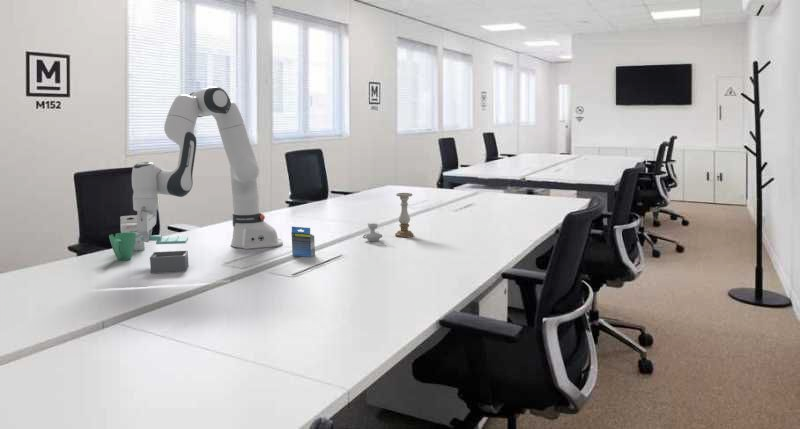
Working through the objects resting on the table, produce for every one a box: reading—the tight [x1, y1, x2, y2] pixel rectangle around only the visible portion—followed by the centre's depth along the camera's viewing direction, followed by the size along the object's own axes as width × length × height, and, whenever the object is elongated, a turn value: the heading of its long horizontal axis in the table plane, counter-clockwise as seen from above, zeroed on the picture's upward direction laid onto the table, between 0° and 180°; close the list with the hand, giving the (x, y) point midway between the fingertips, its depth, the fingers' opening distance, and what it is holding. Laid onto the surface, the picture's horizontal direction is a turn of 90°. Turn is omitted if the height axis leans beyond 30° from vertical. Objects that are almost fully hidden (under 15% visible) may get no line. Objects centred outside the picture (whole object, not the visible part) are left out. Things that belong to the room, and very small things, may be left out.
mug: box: [108, 232, 136, 262], centre depth 247 cm, size 15×10×10 cm
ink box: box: [119, 214, 146, 252], centre depth 266 cm, size 8×5×15 cm, turn 123°
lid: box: [141, 234, 189, 245], centre depth 240 cm, size 16×8×3 cm, turn 102°
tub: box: [149, 250, 189, 274], centre depth 230 cm, size 12×9×7 cm
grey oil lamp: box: [362, 222, 383, 243], centre depth 285 cm, size 9×7×8 cm
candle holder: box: [394, 192, 414, 238], centre depth 297 cm, size 9×9×20 cm
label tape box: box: [291, 226, 316, 258], centre depth 256 cm, size 9×4×12 cm, turn 71°
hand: (147, 240), depth 239 cm, fingers closed on lid, 3 cm apart
